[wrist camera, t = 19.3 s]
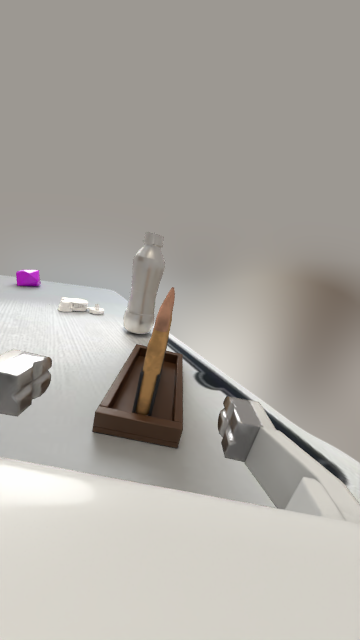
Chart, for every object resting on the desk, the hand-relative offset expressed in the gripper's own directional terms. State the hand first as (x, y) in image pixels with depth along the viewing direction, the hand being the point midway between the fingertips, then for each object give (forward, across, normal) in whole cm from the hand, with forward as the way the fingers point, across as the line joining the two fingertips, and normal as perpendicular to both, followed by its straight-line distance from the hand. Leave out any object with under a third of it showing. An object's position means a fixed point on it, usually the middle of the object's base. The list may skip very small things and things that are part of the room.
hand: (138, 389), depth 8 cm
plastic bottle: (+31, +6, +10) cm, 33 cm away
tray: (+13, 0, +9) cm, 16 cm away
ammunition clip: (+12, 0, +9) cm, 15 cm away
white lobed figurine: (+36, +22, +10) cm, 43 cm away
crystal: (+48, +43, +10) cm, 65 cm away
